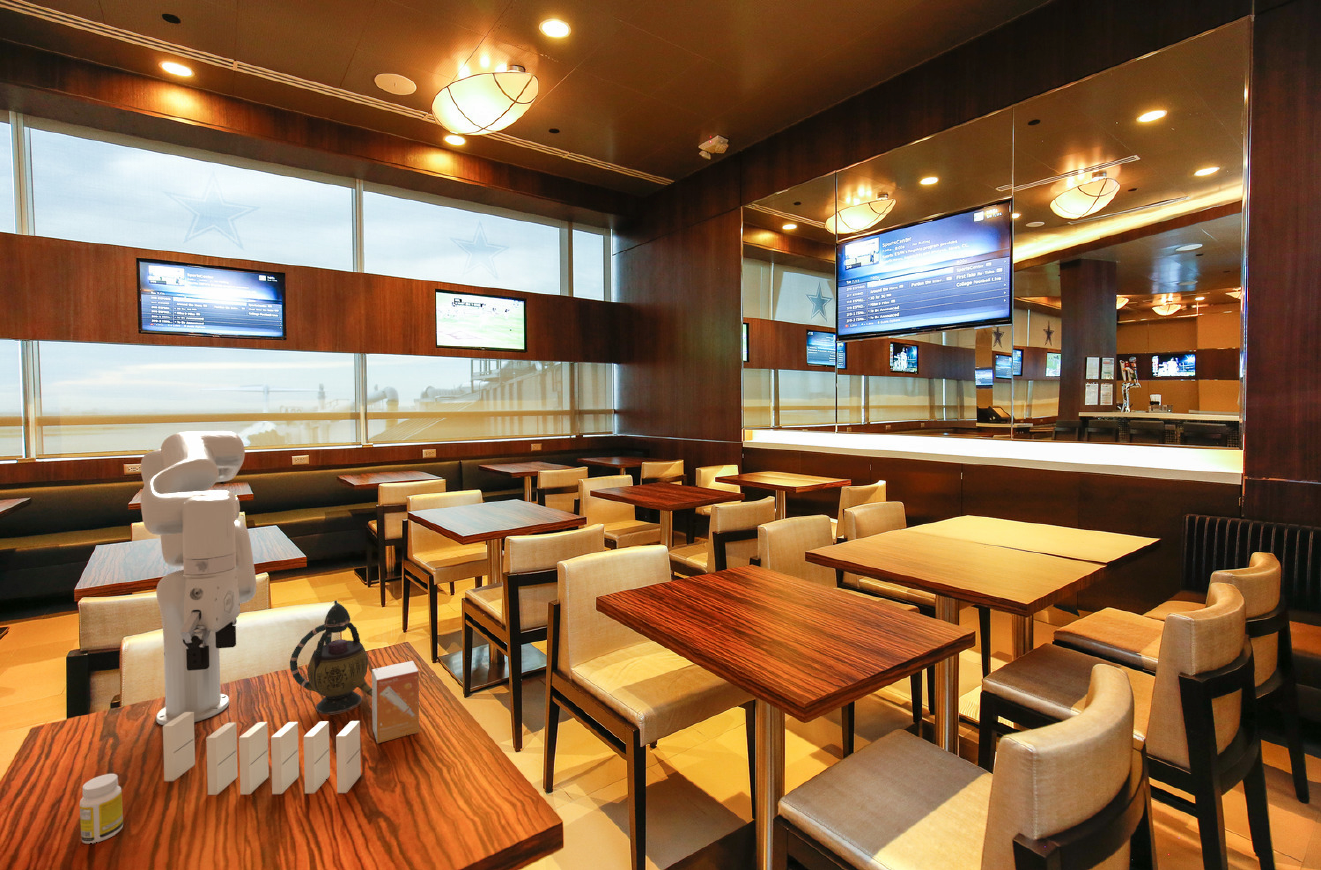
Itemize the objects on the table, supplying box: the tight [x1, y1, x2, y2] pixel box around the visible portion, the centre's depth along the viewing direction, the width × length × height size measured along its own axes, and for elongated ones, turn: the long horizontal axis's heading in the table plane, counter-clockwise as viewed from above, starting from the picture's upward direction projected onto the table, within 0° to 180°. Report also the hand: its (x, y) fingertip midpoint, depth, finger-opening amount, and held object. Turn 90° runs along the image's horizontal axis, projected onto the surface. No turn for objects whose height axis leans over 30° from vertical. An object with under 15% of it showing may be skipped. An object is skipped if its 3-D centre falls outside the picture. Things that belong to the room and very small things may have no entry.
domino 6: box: [335, 720, 362, 794], centre depth 104 cm, size 2×5×10 cm, turn 1°
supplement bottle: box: [79, 773, 124, 845], centre depth 92 cm, size 5×5×8 cm
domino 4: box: [270, 721, 300, 795], centre depth 104 cm, size 2×5×10 cm, turn 1°
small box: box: [371, 660, 420, 744], centre depth 122 cm, size 8×6×13 cm
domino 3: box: [238, 721, 270, 795], centre depth 104 cm, size 2×5×10 cm, turn 1°
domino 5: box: [303, 720, 331, 794], centre depth 104 cm, size 2×5×10 cm, turn 1°
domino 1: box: [162, 712, 196, 782], centre depth 108 cm, size 2×5×10 cm, turn 1°
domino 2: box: [205, 722, 239, 796], centre depth 104 cm, size 2×5×10 cm, turn 1°
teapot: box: [289, 600, 372, 716], centre depth 132 cm, size 12×25×23 cm, turn 70°
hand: (212, 657), depth 107 cm, fingers open, 9 cm apart
